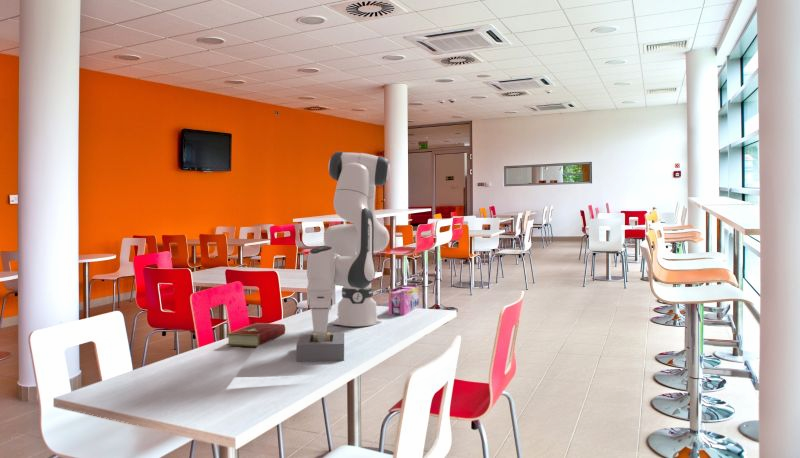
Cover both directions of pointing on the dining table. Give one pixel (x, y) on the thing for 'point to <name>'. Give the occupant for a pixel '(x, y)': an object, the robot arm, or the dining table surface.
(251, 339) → the hardcover book
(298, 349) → the well
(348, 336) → the dining table surface
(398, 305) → the gum box
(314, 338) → the tan block
